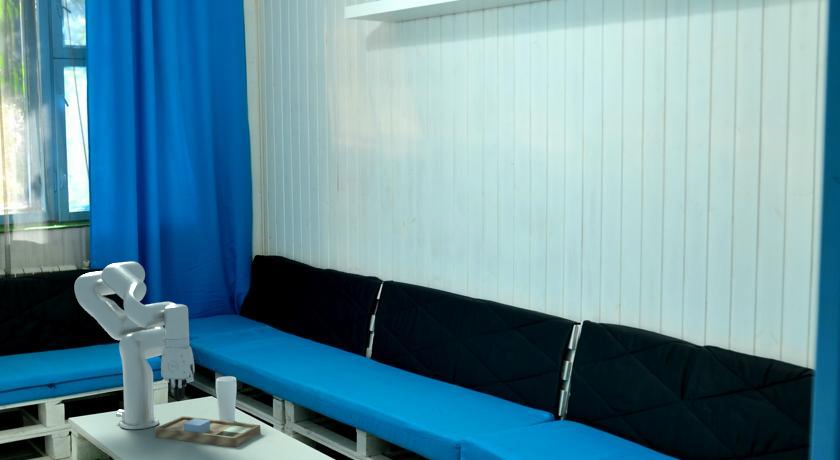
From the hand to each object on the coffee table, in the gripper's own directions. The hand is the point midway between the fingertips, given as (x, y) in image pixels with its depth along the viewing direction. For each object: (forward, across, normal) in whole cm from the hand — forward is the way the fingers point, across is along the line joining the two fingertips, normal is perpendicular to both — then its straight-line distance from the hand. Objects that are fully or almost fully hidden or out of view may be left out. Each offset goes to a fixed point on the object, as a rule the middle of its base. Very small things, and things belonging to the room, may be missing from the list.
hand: (179, 399), depth 301 cm
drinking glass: (+12, +6, +18) cm, 23 cm away
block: (+10, +6, 0) cm, 12 cm away
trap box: (+12, +8, +4) cm, 15 cm away
